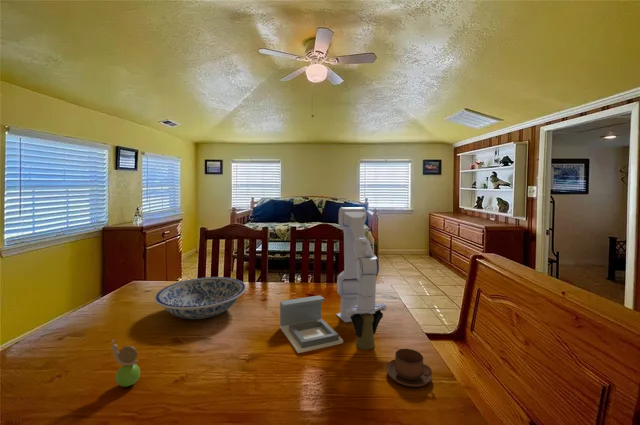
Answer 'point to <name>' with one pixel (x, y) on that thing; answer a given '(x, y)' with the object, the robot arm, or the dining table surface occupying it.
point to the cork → (366, 333)
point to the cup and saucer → (409, 368)
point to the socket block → (306, 324)
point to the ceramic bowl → (200, 296)
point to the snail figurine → (126, 365)
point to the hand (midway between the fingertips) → (365, 334)
